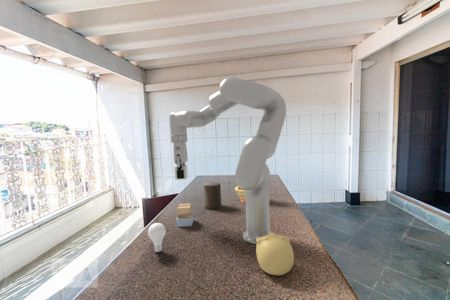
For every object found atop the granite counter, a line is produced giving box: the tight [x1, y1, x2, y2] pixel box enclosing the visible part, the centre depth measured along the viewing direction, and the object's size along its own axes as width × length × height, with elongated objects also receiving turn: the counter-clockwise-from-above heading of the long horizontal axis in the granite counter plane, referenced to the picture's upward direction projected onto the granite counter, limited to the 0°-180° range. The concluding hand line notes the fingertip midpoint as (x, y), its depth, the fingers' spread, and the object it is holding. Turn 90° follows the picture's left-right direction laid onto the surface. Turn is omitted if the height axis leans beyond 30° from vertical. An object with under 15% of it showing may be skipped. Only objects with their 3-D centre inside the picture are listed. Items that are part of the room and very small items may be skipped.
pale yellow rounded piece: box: [255, 232, 295, 276], centre depth 73 cm, size 11×12×11 cm
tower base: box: [175, 212, 194, 228], centre depth 112 cm, size 7×7×4 cm
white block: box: [174, 164, 189, 181], centre depth 110 cm, size 5×5×6 cm
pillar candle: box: [203, 181, 222, 211], centre depth 133 cm, size 10×10×15 cm
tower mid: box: [176, 203, 193, 219], centre depth 112 cm, size 6×6×5 cm
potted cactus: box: [234, 185, 246, 204], centre depth 141 cm, size 15×15×25 cm
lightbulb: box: [147, 222, 166, 253], centre depth 87 cm, size 6×6×11 cm
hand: (181, 176), depth 110 cm, fingers closed on white block, 5 cm apart
